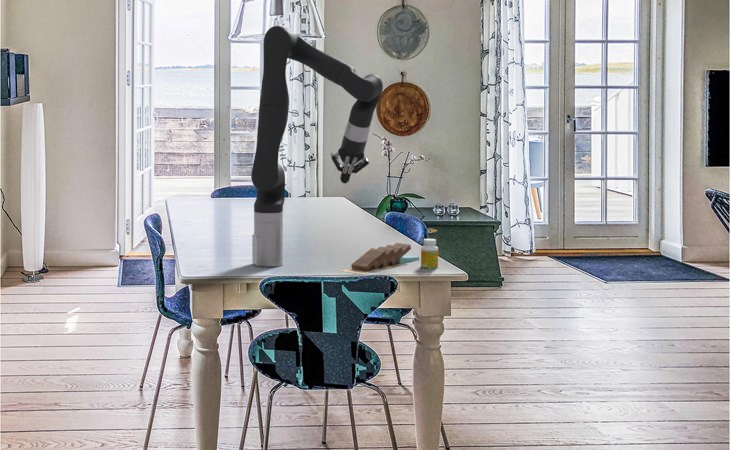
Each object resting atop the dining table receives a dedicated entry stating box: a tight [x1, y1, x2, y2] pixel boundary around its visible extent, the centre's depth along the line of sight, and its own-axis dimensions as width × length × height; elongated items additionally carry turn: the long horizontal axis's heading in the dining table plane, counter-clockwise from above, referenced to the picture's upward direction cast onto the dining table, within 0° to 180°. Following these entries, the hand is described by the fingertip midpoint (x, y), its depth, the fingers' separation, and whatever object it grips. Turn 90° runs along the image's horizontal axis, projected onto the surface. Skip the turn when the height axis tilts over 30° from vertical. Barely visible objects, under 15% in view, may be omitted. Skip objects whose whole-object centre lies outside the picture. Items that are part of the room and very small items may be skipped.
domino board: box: [338, 263, 406, 275], centre depth 268 cm, size 24×9×1 cm, turn 142°
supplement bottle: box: [420, 238, 439, 270], centre depth 269 cm, size 5×5×10 cm
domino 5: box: [396, 254, 420, 264], centre depth 280 cm, size 2×6×11 cm
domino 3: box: [379, 244, 403, 268], centre depth 273 cm, size 2×6×11 cm
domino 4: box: [388, 242, 412, 265], centre depth 276 cm, size 2×6×11 cm
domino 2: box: [370, 246, 395, 269], centre depth 269 cm, size 2×6×11 cm
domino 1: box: [350, 248, 387, 272], centre depth 266 cm, size 2×6×11 cm
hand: (343, 182), depth 276 cm, fingers closed
